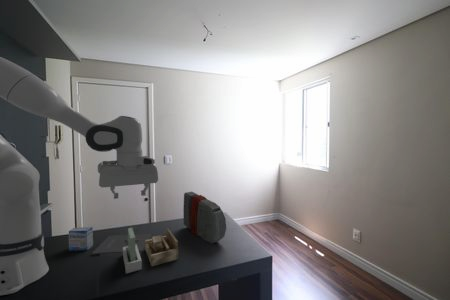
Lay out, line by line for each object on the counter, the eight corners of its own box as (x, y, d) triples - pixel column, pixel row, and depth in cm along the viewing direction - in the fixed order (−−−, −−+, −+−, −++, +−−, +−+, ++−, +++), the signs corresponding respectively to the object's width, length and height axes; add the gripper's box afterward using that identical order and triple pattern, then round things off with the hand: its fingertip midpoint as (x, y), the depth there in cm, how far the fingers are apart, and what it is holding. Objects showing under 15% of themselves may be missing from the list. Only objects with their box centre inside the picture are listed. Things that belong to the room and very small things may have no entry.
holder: (126, 275, 75) (125, 264, 75) (123, 256, 88) (122, 247, 87) (141, 271, 78) (141, 260, 78) (136, 253, 90) (136, 244, 90)
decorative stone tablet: (182, 191, 113) (217, 210, 91) (192, 189, 118) (229, 207, 95) (181, 226, 116) (215, 253, 93) (191, 223, 120) (227, 248, 97)
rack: (151, 268, 80) (151, 247, 79) (145, 251, 92) (144, 233, 91) (178, 260, 84) (177, 241, 84) (168, 245, 97) (168, 228, 96)
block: (130, 270, 78) (130, 238, 78) (128, 257, 87) (127, 228, 86) (135, 269, 79) (135, 237, 78) (132, 256, 88) (132, 227, 87)
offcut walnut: (155, 255, 83) (155, 249, 83) (150, 247, 89) (150, 242, 89) (163, 252, 85) (163, 247, 85) (158, 245, 91) (158, 240, 91)
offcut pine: (153, 248, 84) (153, 242, 84) (152, 241, 89) (152, 236, 89) (161, 246, 85) (161, 241, 85) (159, 240, 91) (159, 235, 90)
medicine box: (68, 251, 93) (67, 231, 92) (75, 246, 97) (74, 227, 97) (87, 250, 93) (87, 230, 93) (93, 245, 97) (92, 226, 97)
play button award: (109, 235, 105) (151, 234, 107) (109, 238, 105) (151, 237, 107) (91, 252, 89) (141, 250, 91) (91, 256, 89) (141, 254, 91)
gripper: (97, 161, 73) (97, 202, 74) (159, 159, 83) (159, 195, 84) (97, 160, 79) (98, 198, 79) (155, 158, 89) (155, 192, 89)
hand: (130, 196), depth 82 cm, fingers open, 8 cm apart
